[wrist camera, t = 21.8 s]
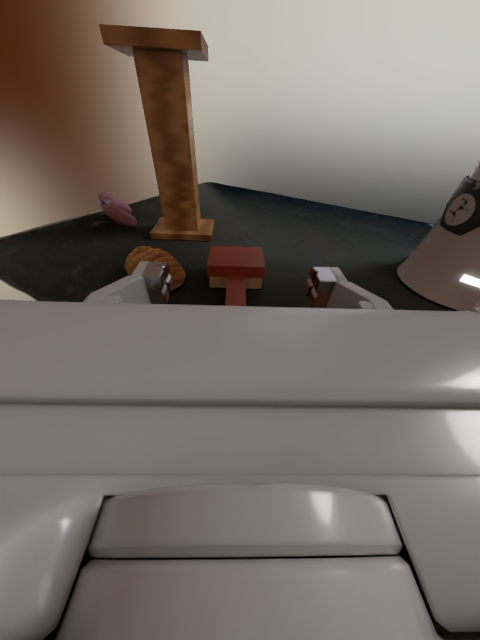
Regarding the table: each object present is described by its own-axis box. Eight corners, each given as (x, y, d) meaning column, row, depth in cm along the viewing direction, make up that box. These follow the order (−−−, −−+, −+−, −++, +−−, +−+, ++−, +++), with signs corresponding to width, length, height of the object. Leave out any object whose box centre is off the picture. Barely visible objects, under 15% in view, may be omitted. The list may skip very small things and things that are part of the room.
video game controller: (117, 221, 54) (92, 193, 48) (132, 210, 54) (109, 181, 49) (122, 236, 48) (94, 207, 42) (139, 224, 48) (113, 193, 42)
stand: (214, 224, 51) (207, 45, 33) (211, 241, 44) (200, 30, 27) (161, 222, 50) (125, 40, 32) (150, 238, 44) (98, 24, 26)
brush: (259, 268, 37) (261, 247, 35) (269, 344, 25) (274, 320, 23) (211, 267, 37) (210, 245, 34) (199, 343, 25) (196, 318, 22)
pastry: (198, 279, 34) (195, 256, 32) (163, 301, 30) (157, 277, 28) (157, 260, 38) (152, 238, 35) (122, 277, 34) (113, 254, 31)
